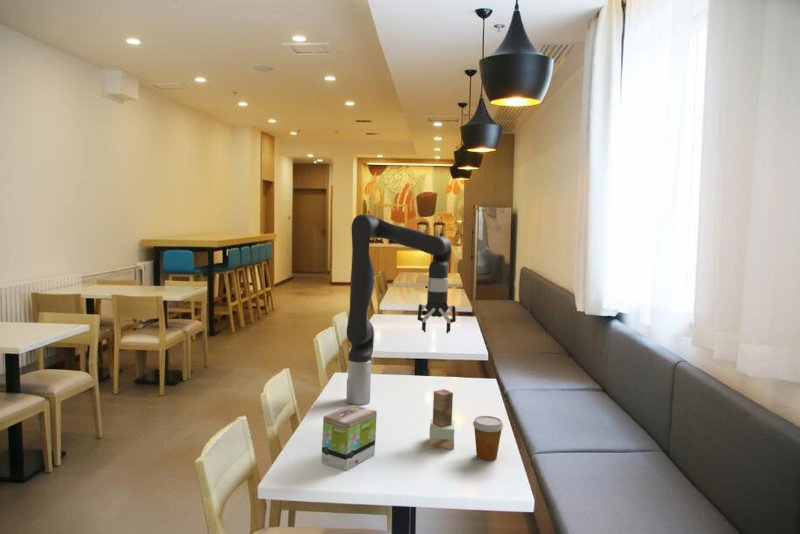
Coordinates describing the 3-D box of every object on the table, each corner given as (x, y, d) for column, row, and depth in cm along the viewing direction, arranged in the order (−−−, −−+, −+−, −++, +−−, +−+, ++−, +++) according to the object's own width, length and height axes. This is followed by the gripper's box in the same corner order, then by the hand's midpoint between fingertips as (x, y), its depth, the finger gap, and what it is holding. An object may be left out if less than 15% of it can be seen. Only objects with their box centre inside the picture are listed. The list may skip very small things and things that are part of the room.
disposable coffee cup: (505, 454, 185) (506, 418, 184) (497, 465, 177) (498, 428, 176) (476, 448, 189) (478, 413, 188) (467, 459, 181) (469, 422, 180)
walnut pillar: (440, 427, 189) (442, 395, 188) (432, 423, 193) (433, 391, 192) (451, 425, 192) (452, 392, 191) (443, 420, 196) (444, 389, 195)
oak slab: (429, 448, 189) (429, 438, 189) (429, 439, 197) (430, 429, 197) (453, 450, 189) (454, 440, 188) (453, 440, 197) (453, 430, 196)
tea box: (347, 472, 169) (348, 423, 168) (320, 463, 175) (321, 416, 173) (376, 455, 182) (377, 409, 181) (350, 447, 187) (351, 403, 186)
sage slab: (429, 438, 189) (429, 427, 189) (430, 429, 197) (430, 419, 197) (453, 440, 188) (454, 429, 188) (454, 430, 196) (454, 421, 196)
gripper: (418, 290, 212) (416, 333, 214) (457, 291, 211) (455, 335, 213) (418, 287, 220) (417, 329, 221) (456, 289, 219) (454, 331, 220)
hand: (436, 332), depth 217 cm, fingers open, 8 cm apart
